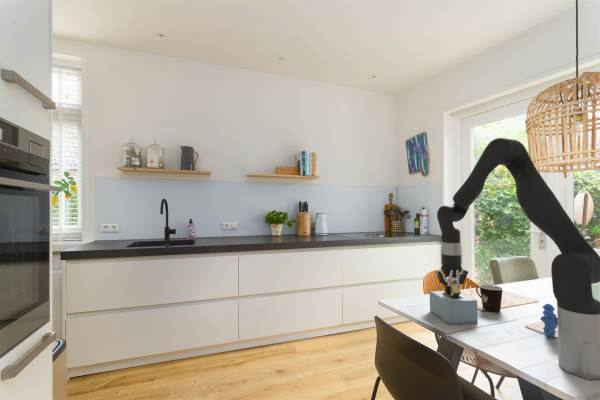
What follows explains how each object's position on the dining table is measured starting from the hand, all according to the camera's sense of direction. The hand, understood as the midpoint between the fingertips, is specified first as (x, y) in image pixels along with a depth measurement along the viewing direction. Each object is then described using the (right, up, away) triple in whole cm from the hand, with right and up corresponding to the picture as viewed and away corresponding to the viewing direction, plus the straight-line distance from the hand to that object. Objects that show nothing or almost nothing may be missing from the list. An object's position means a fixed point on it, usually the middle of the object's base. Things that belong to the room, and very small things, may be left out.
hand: (452, 294), depth 123 cm
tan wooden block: (0, 0, -2) cm, 2 cm away
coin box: (0, -10, 0) cm, 10 cm away
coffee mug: (+21, -10, +9) cm, 25 cm away
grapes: (+25, -9, -20) cm, 33 cm away
